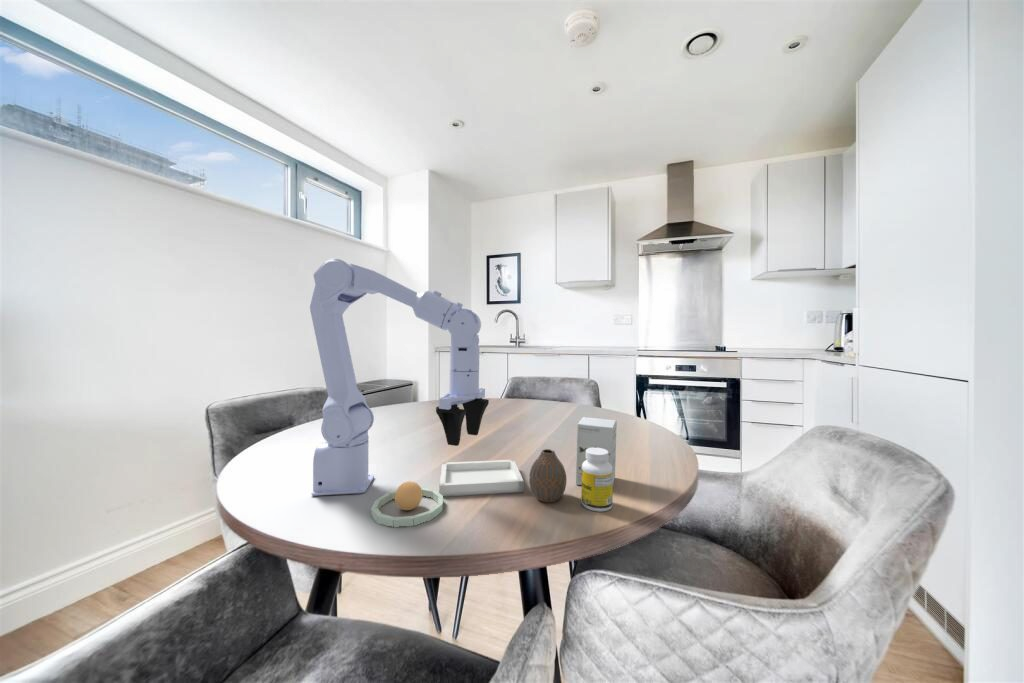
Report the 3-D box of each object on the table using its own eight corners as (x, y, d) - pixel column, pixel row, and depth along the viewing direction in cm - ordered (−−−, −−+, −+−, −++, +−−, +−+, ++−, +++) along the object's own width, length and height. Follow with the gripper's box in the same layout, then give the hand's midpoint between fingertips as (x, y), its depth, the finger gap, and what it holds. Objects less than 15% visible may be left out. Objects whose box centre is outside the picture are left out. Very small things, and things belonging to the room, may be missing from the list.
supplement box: (574, 485, 71) (575, 423, 71) (581, 472, 78) (582, 415, 78) (612, 491, 68) (613, 427, 68) (616, 477, 75) (617, 419, 75)
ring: (364, 529, 54) (364, 521, 54) (380, 495, 66) (380, 489, 66) (441, 524, 56) (441, 516, 56) (444, 492, 67) (444, 486, 67)
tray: (439, 496, 65) (439, 485, 65) (442, 472, 77) (442, 462, 77) (523, 491, 68) (523, 481, 68) (513, 468, 80) (513, 459, 80)
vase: (565, 490, 69) (565, 446, 69) (567, 507, 62) (567, 458, 62) (529, 489, 69) (530, 444, 69) (528, 505, 62) (528, 456, 62)
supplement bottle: (577, 498, 65) (578, 446, 65) (606, 497, 66) (606, 445, 66) (586, 513, 60) (586, 456, 60) (617, 512, 60) (617, 455, 60)
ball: (392, 516, 58) (392, 488, 58) (397, 503, 63) (397, 477, 63) (420, 514, 59) (421, 487, 59) (423, 501, 63) (423, 476, 63)
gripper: (463, 374, 61) (462, 453, 61) (498, 368, 74) (497, 432, 74) (429, 372, 63) (428, 447, 63) (468, 367, 77) (467, 428, 77)
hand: (463, 439), depth 69 cm, fingers open, 7 cm apart
